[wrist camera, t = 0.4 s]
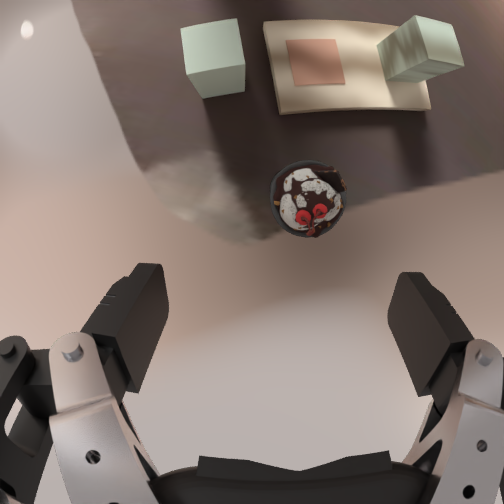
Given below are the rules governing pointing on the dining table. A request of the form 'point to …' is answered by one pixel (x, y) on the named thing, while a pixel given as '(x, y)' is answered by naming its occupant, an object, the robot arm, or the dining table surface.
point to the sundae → (307, 198)
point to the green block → (214, 58)
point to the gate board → (357, 63)
